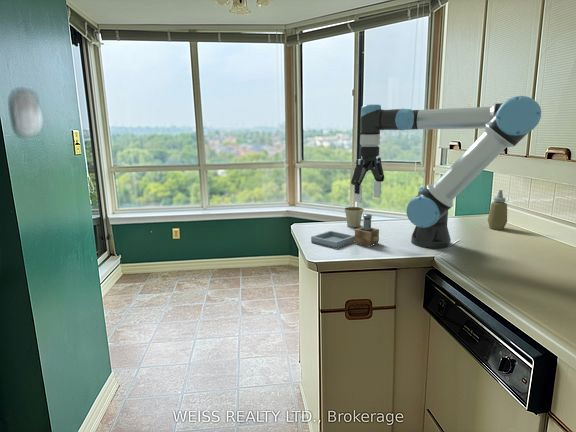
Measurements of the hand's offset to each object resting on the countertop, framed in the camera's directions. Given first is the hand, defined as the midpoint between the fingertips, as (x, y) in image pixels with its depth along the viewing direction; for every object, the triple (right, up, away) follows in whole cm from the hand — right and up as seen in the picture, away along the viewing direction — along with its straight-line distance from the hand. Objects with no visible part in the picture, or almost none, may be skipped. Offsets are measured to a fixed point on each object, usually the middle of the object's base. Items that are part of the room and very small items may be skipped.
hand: (367, 199), depth 155 cm
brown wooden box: (0, -18, +4) cm, 18 cm away
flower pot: (0, -12, +33) cm, 35 cm away
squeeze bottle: (+65, -13, +25) cm, 71 cm away
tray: (-13, -17, +7) cm, 23 cm away
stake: (0, -18, +4) cm, 18 cm away
